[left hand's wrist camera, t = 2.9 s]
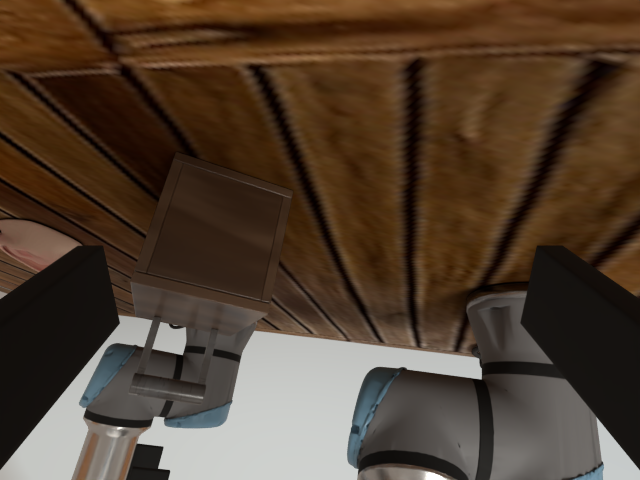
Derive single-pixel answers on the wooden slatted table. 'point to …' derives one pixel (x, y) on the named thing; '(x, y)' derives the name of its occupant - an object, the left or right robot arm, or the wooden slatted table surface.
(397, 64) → the wooden slatted table surface
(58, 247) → the anatomical model
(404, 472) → the left robot arm
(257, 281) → the chest
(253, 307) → the lid
